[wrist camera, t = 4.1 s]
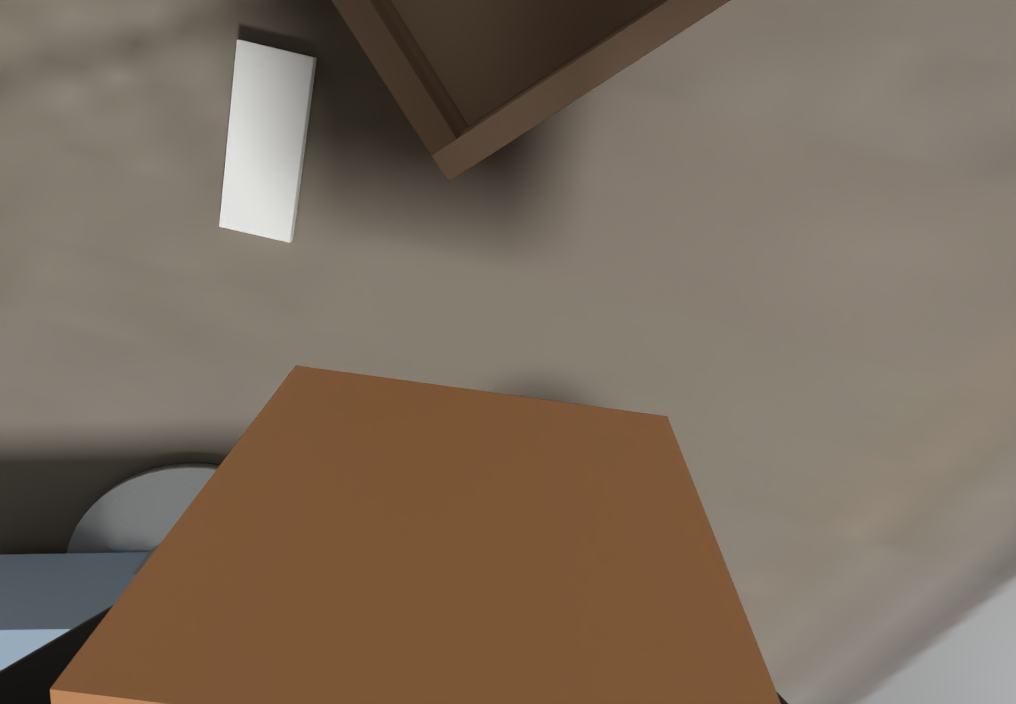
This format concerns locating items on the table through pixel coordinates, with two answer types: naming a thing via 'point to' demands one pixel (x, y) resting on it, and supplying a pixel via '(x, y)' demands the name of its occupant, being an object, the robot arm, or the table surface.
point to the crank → (57, 594)
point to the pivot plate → (140, 510)
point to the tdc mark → (266, 140)
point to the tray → (503, 60)
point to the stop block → (432, 563)
